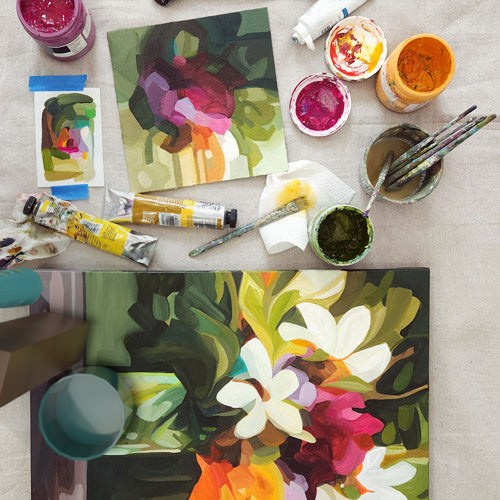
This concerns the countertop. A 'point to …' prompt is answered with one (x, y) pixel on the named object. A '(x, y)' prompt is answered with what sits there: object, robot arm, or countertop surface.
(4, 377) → the pedestal
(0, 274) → the tube
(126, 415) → the bowl
